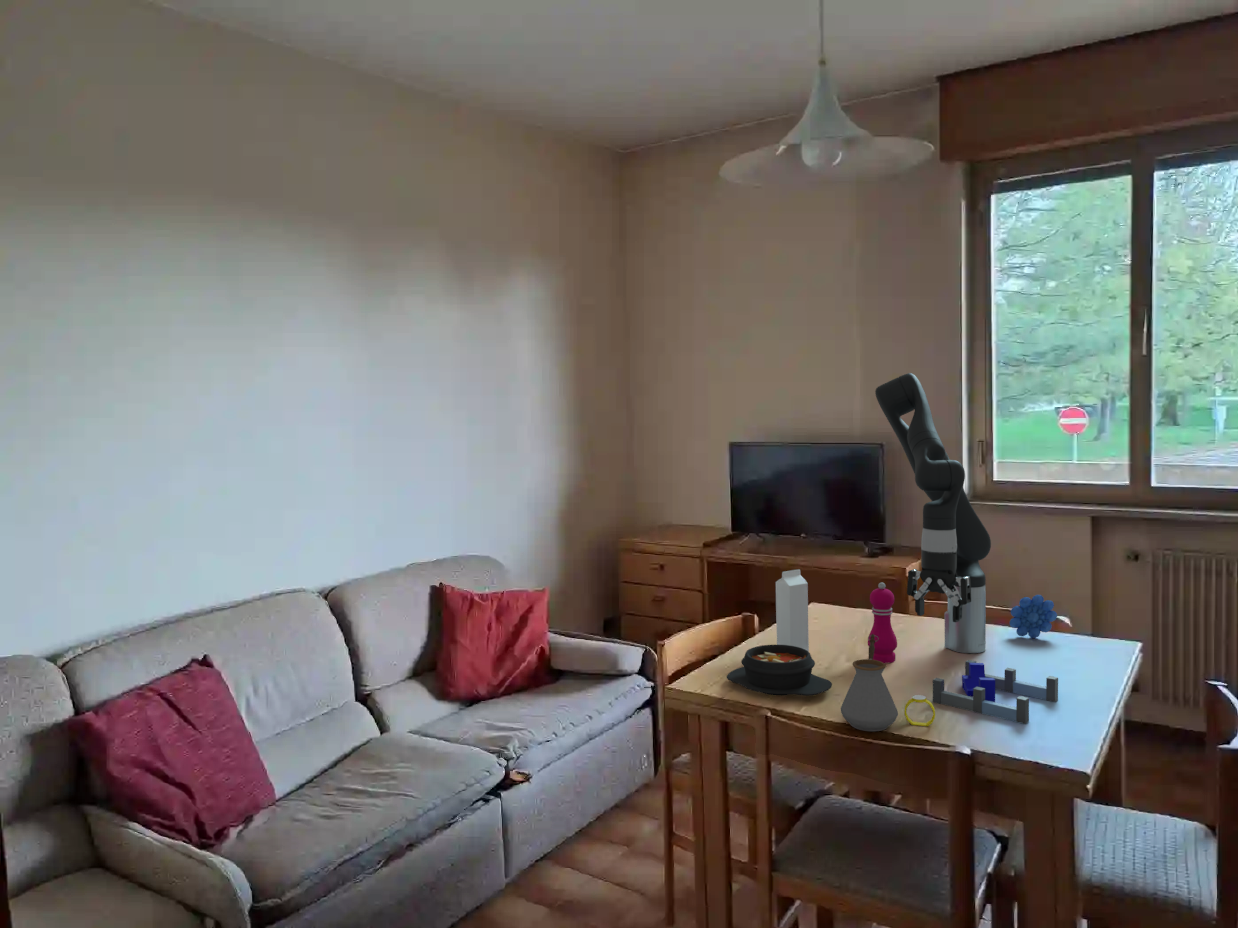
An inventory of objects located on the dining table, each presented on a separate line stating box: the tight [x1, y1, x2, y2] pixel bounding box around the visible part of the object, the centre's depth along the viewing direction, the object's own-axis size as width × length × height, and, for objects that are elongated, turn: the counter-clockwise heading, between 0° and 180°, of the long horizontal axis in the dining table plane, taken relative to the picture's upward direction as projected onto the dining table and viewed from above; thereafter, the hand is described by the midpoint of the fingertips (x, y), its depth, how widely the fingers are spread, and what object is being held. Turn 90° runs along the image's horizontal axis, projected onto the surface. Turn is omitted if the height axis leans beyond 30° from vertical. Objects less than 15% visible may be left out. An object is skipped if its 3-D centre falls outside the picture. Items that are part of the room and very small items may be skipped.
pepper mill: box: [867, 582, 898, 664], centre depth 224 cm, size 7×7×20 cm
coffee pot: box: [840, 634, 899, 732], centre depth 187 cm, size 21×12×15 cm, turn 160°
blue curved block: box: [961, 662, 996, 702], centre depth 196 cm, size 12×4×6 cm, turn 169°
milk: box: [775, 568, 810, 653], centre depth 232 cm, size 6×6×22 cm
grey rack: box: [932, 659, 1059, 725], centre depth 193 cm, size 20×18×5 cm
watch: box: [903, 694, 936, 727], centre depth 181 cm, size 6×3×6 cm, turn 71°
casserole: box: [726, 644, 833, 697], centre depth 206 cm, size 25×19×8 cm
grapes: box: [1009, 594, 1058, 639], centre depth 239 cm, size 12×7×12 cm, turn 69°
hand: (938, 618), depth 201 cm, fingers open, 8 cm apart
